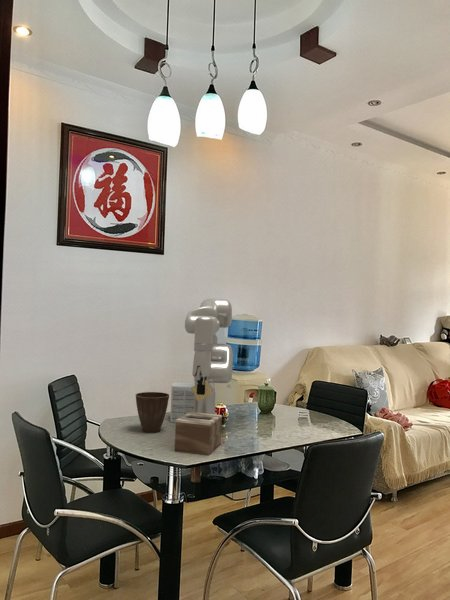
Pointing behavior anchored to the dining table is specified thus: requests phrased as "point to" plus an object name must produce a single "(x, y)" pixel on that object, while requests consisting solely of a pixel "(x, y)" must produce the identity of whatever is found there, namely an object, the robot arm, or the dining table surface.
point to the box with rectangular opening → (198, 433)
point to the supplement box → (181, 400)
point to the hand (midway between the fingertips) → (201, 393)
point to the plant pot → (151, 409)
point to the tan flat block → (207, 391)
